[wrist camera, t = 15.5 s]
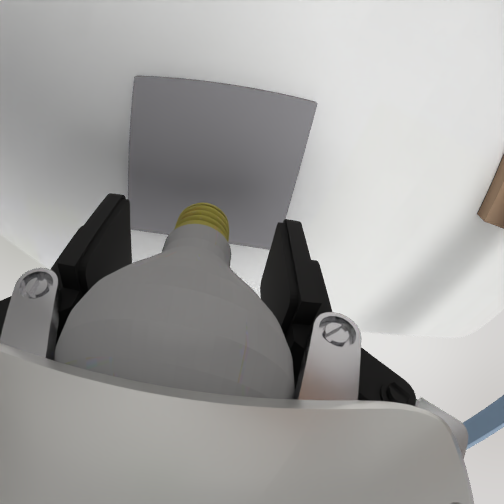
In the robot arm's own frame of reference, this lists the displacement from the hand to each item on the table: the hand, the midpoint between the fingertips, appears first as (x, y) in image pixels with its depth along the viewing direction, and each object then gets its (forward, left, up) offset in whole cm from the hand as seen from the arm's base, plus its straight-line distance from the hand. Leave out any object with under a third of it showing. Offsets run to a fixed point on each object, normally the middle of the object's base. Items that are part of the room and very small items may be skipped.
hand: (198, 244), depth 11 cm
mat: (0, 0, -7) cm, 7 cm away
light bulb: (0, 0, -2) cm, 2 cm away
